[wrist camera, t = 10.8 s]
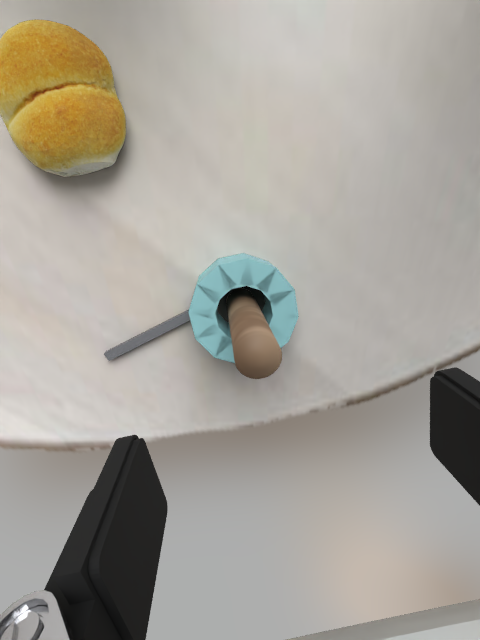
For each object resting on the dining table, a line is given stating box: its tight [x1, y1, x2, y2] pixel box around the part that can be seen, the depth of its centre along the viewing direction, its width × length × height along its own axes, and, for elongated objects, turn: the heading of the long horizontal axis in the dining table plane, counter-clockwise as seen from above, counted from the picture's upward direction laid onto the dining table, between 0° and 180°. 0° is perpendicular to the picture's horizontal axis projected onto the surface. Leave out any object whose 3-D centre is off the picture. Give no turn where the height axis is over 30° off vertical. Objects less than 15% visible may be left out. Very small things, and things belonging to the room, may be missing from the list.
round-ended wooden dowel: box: [226, 288, 282, 379], centre depth 22 cm, size 3×3×12 cm
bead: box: [188, 253, 298, 363], centre depth 26 cm, size 8×8×4 cm
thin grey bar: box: [104, 310, 190, 361], centre depth 28 cm, size 9×1×1 cm, turn 116°
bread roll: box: [0, 20, 126, 177], centre depth 21 cm, size 8×9×4 cm
